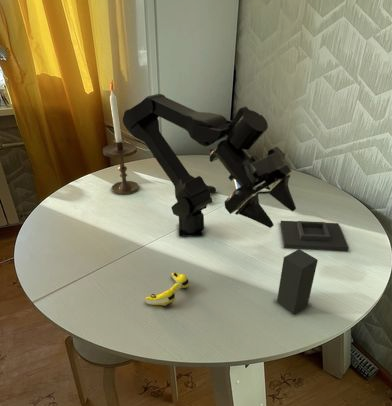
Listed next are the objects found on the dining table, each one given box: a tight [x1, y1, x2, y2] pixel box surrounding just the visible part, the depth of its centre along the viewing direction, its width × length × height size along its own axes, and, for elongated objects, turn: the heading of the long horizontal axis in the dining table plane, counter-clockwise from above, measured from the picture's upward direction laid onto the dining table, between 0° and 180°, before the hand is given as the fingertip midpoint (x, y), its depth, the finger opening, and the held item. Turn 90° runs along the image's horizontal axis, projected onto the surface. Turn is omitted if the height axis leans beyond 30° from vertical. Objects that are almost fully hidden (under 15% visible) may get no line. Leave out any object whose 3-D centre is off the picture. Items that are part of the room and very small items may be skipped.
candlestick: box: [102, 79, 140, 196], centre depth 112 cm, size 11×11×35 cm
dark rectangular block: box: [276, 249, 319, 315], centre depth 72 cm, size 5×5×12 cm
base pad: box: [280, 220, 349, 252], centre depth 95 cm, size 16×12×3 cm
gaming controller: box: [206, 184, 217, 205], centre depth 115 cm, size 10×5×6 cm
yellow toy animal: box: [144, 272, 190, 307], centre depth 77 cm, size 10×6×4 cm, turn 148°
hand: (283, 218), depth 76 cm, fingers open, 9 cm apart
